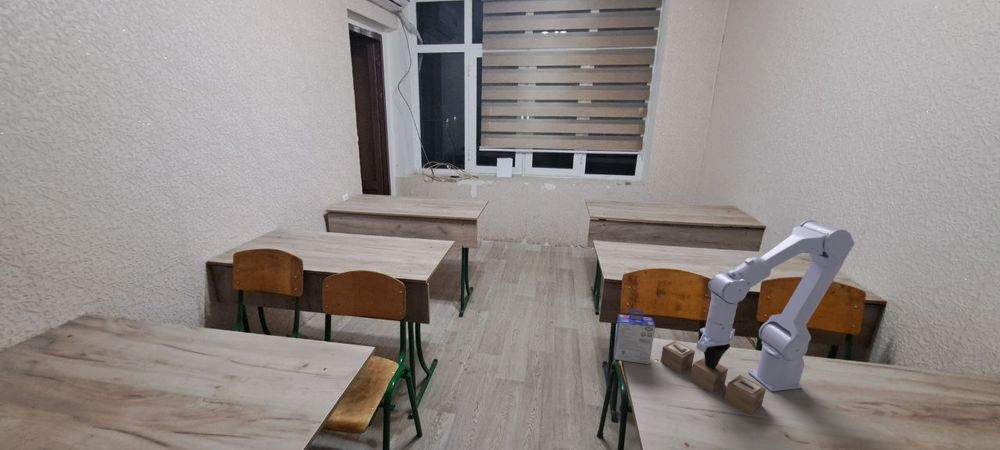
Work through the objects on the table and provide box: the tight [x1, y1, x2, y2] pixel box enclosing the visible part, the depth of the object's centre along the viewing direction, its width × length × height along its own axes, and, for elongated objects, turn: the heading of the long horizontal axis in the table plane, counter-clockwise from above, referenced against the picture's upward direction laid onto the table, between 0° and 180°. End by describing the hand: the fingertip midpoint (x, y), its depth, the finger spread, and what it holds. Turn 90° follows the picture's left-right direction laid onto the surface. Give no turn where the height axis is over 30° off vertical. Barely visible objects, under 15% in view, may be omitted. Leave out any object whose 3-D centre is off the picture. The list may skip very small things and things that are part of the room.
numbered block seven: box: [660, 340, 696, 374], centre depth 108 cm, size 6×6×5 cm
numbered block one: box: [723, 374, 767, 416], centre depth 94 cm, size 6×6×5 cm
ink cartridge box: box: [613, 308, 656, 365], centre depth 110 cm, size 10×6×14 cm, turn 78°
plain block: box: [689, 356, 729, 393], centre depth 101 cm, size 6×6×5 cm
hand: (710, 366), depth 101 cm, fingers closed
